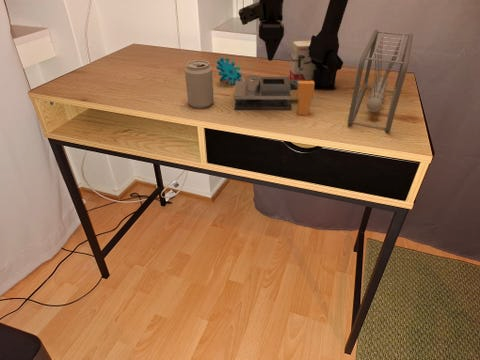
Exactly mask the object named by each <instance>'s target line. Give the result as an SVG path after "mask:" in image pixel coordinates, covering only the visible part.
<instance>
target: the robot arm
mask: <svg viewBox="0 0 480 360" xmlns="http://www.w3.org/2000/svg"><path fill="white" fill-rule="evenodd" d="M348 2H349V0H329V1H328V5H327V8H326V13H325V16H324V20H323V21H322V22H323V23H322V26H321V29H320V31H319V32H318V33H317V35H314V34H313V35H312V36H311V39H310V41H311V43H310V46H309V47H308V49H309V55H310V58H311V60H312V64H315V70H313V75H312V81H314V83H315V85H314V90H336V86H335V85H336V75H337V72H338V71H340V70H342V68H343V65H344V61H343V60H342V59H341V57H340V56H339V55H338V53H339V49H340V42H339V35H338V34H339V31H340V27H341V25H342V21H343V18H344V15H345V12H346V9H347V5H348ZM283 9H284V0H259V1H258V2H255V3H252V4H249V5H247V6H244V7H242V8H240V9H239V10H238V16H239V20H240V21H241V24H242V26H244V25H245V26H246V25H248V23H250V22H253V21H255V20H258V21H259V24H258V37H259V39H260V40H262V41H263V42H264V45H265V51H266V56H267V60H268V61H270V62H271V61H273V59H274V57H275V55H276V53H277V52H278V51H277V50H278V48H279V46H280V44H281V42H282V40H283V38H284V36H285V25H284V24H283V18H284V16H283V15H284V14H283Z"/></svg>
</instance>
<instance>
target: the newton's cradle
mask: <svg viewBox="0 0 480 360" xmlns="http://www.w3.org/2000/svg"><path fill="white" fill-rule="evenodd" d="M379 34H380V37H379V39H378V36H379ZM384 34H386V35H397V36H402V37H401V38H400V39H399V42H396V41H392V43H395V44H398V45H397V46H394V45H393V46H392V45H391V47H395V48H396V49H395V50H394V52H393V50H390V49H388V52H389V51H390V52H393V53H394V54H390V56H392V58H391V59H390V60H387V59H382V58H383V55H386V56H387V53H386V54H383V51H384V49H383V48H382V47H383V46H385V47H387V45H386V44H382V39H383V38H385V39H387V37H384V36H383V35H384ZM405 36H407V39H406V43H405V47H404V50H403V55H402V58H401V61H399V59H400V56H401V50H402V47H403V43H404V37H405ZM413 37H414V33H413V32H410V33H400V32H388V31H379V30H378V29H375V30H374V31H373V33H372V35H371V37H370V38H369V41H368V43H367V45H366V47H365V48H364V50H363V53H362V55H361V57H360V59H359V62H358V66H357V67H358V68H357V73H356V76H355V82H354V87H353V92H352V97H351V102H350V108H349V114H348V117H347V118H348V119H347V124H348V126H349V125H352V124H355V125H361V126H367V127H373V128H379V129H384V130H385V132H390V131H391V128H392V125H393V121H394V117H395V113H396V110H397V107H398V103H399V99H400V96H401V92H402V90H403V89H402V88H403V85H404V82H405V79H406V75H407V70H408V66H409V61H410V56H411V49H412V43H413ZM391 39H393V40H397V38H396V37H395V38H394V37H393V38H392V37H391ZM385 42H386V43H388V41H386V40H383V43H385ZM368 54H369V55H368ZM367 56H368V57H367ZM367 60H368V61H367ZM365 61H367V65H366V71H365V75H364V79H363V84H362V87H361V89H360V86H361V81H362V75H363V72H364V67H365ZM373 61H374V72H375V79H374V83H373V86H372V87H370V86H369V87H368V86H367V85H368V83H369V77H370V72H371V69H372V68H371V67H372V64H373ZM382 62H384V63H389V64H388V66H387V68H386V70H385V72H384V75H383V76H381V71H383V70H382V67H383V66H382V64H383V63H382ZM394 64H399V65H400V66H399V69H398V73H397V77H396V81H395V85H394V89H393V90H390V89H389V90H388V89H387V86H388V80H387V79H388V76H389V75H390V72H391V70H392V69H393V65H394ZM366 89H368V90H369V89H370V90H371V91H370V94H369V96H368V101H367V102H366V108H367V109H368V111H370V112H372V113H373V112H378V111H380V110H381V108H382V106H383V105H382V104H383V101H384V97H385V95H386V92H389V93H392V96H391V103H390V107H389V111H388V116H387V120H386V124H385V126H379V125H373V124H367V123H364V122H363V123H362V122H356V121H354V120H355V118H356V115H357V112H358V110H359V107H360V104H361V101H362V99H363V96H364V94H365V91H366ZM359 91H360V92H359Z"/></svg>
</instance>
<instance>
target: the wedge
mask: <svg viewBox="0 0 480 360" xmlns="http://www.w3.org/2000/svg"><path fill="white" fill-rule="evenodd" d="M314 85H315V83H314V81H298V90H296V91H297V93H296V96H297V99H298V100H297V111H296V114H297V116H310V109H311V101H312V99H313V98H314V92H315V91H314V90H315V88H314Z"/></svg>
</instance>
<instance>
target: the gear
mask: <svg viewBox="0 0 480 360" xmlns="http://www.w3.org/2000/svg"><path fill="white" fill-rule="evenodd" d="M230 60H231V59H230V58H229V57H226V58H225V57H223V56H222V57H220V58H219V59H217V61H216V64H217V65H216V67H215V68H216V69H217V70H219V72H218V75H219V76H220V78H219V81H220V82H222V81H223V80H224V82H227V81H229V82H228V84H229V85H231V86H233V85H236V81H243V80H242V79H243V78H242V77H243V74H242V73H241V72H239V71H240V70H241V68H242V67H241V65H237V66H236V67H235V65H236V63H235V61H234V60H233V61H231V62H230ZM229 62H230V63H229Z"/></svg>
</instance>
